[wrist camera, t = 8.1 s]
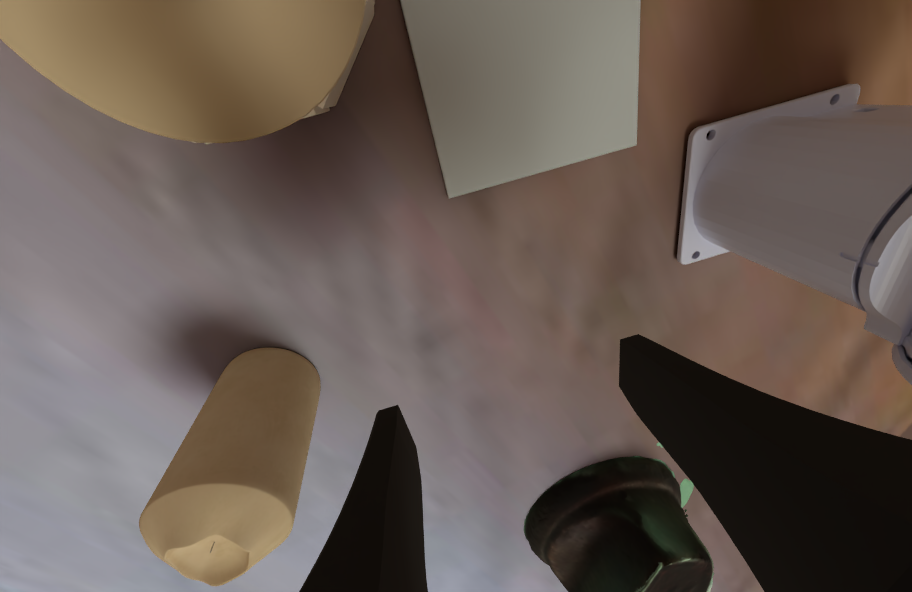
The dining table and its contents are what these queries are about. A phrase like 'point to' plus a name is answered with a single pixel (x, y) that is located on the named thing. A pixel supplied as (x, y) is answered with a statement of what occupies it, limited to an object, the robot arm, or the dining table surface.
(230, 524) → the candle
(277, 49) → the lid
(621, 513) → the black rounded piece
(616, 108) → the mat
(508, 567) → the dining table surface
